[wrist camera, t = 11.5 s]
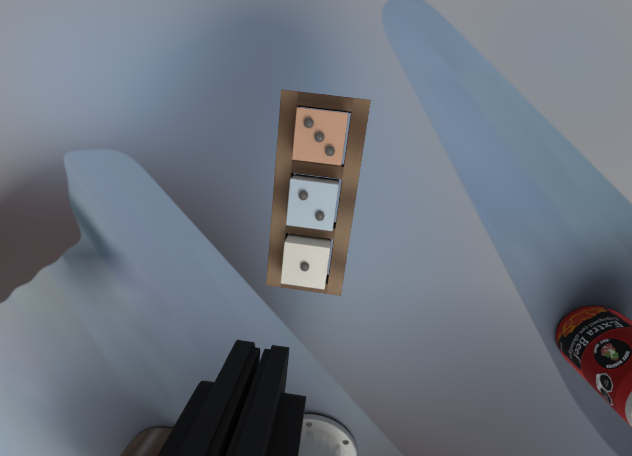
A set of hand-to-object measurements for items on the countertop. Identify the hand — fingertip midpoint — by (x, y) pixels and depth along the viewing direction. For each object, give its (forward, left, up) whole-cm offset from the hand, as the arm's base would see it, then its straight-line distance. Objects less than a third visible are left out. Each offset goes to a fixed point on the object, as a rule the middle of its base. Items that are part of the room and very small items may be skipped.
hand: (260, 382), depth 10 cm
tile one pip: (-4, -4, -26) cm, 27 cm away
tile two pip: (0, +1, -26) cm, 26 cm away
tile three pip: (+4, +6, -26) cm, 27 cm away
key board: (0, +1, -27) cm, 27 cm away
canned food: (+18, -29, -27) cm, 44 cm away
